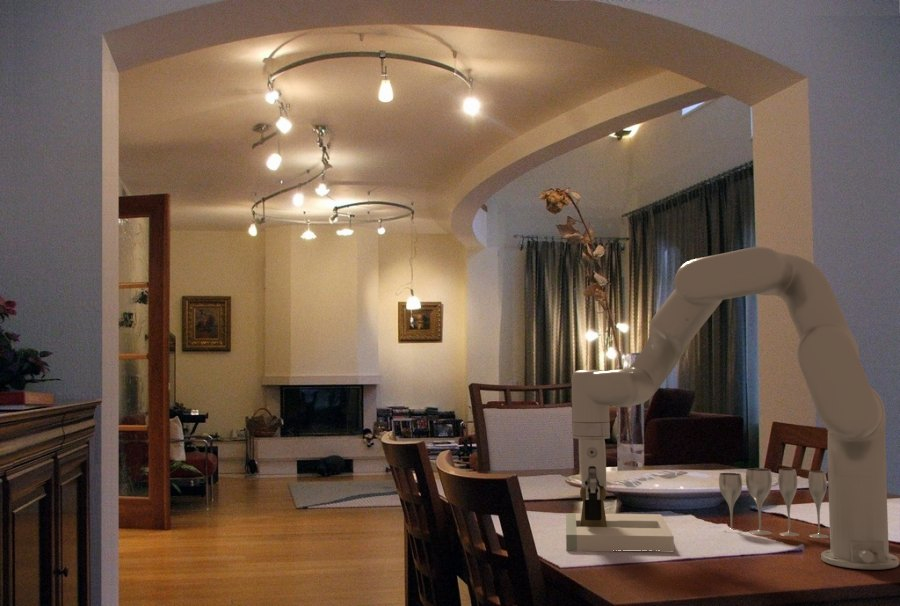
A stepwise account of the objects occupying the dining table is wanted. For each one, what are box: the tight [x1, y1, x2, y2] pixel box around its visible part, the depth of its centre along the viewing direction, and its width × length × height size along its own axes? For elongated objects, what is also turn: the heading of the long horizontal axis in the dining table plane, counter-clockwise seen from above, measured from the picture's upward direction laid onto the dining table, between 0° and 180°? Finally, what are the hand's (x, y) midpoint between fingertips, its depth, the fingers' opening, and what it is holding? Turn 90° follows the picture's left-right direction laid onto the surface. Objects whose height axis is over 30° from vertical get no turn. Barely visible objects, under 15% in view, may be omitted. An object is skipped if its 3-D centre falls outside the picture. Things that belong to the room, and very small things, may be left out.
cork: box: [579, 484, 607, 527], centre depth 189 cm, size 6×6×11 cm
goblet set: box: [718, 467, 830, 539], centre depth 192 cm, size 28×6×13 cm, turn 68°
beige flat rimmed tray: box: [565, 512, 675, 552], centre depth 188 cm, size 24×20×3 cm
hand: (592, 515), depth 189 cm, fingers open, 9 cm apart
